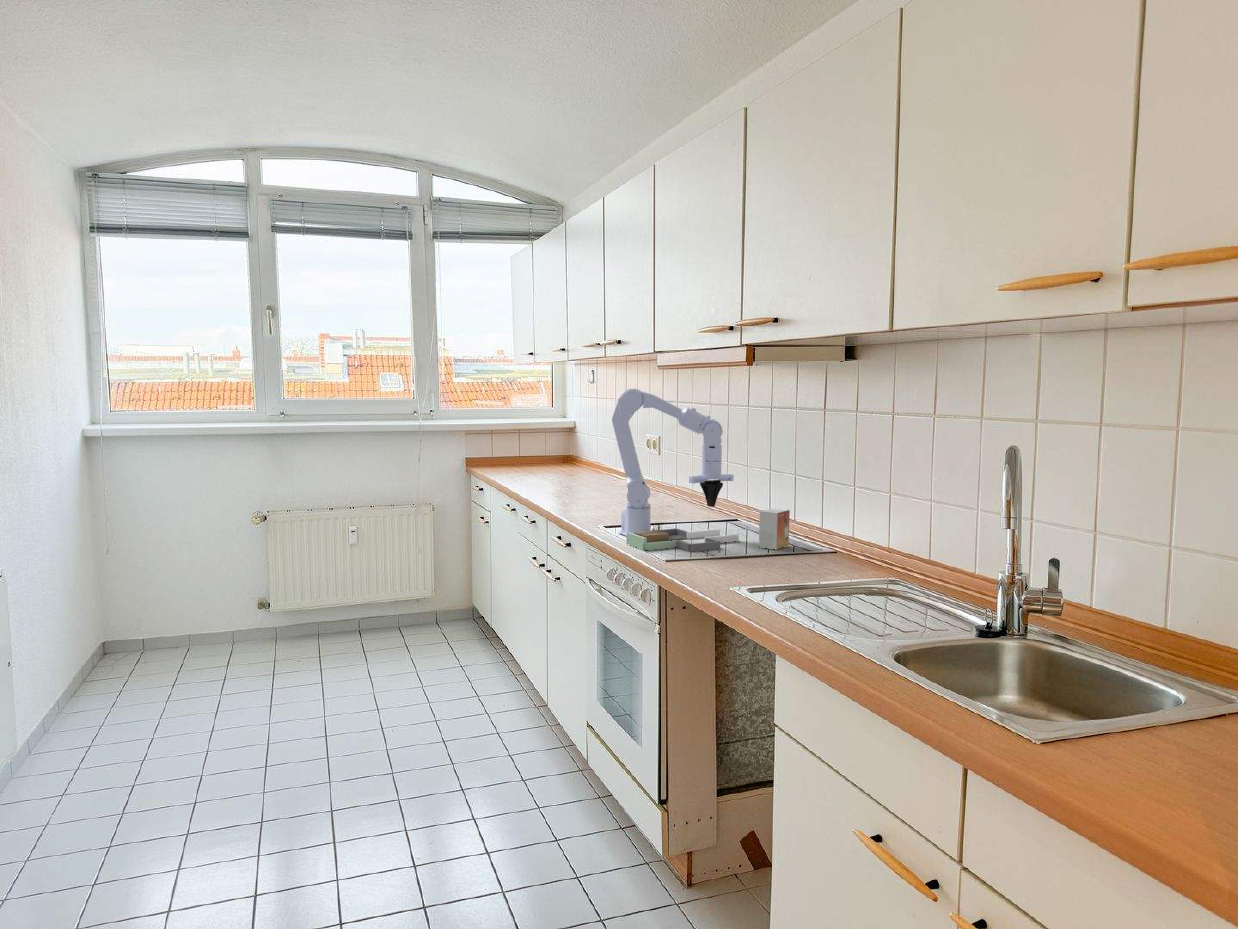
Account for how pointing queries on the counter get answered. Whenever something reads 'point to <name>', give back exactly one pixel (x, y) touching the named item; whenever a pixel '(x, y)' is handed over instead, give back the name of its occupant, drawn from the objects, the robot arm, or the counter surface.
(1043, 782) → the counter surface
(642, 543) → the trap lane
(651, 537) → the walnut block
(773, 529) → the small box
